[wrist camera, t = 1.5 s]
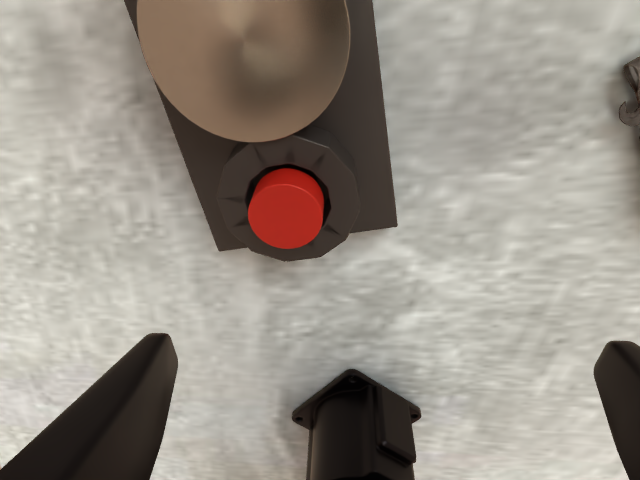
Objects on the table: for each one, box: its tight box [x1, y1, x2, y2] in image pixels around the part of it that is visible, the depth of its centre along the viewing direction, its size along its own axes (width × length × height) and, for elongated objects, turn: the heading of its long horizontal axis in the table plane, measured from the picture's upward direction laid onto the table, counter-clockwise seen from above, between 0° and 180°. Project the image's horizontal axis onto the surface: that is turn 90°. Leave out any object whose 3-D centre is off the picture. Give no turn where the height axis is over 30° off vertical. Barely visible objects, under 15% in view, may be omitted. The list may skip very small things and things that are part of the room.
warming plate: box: [137, 0, 350, 142], centre depth 15 cm, size 7×7×1 cm
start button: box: [248, 168, 324, 249], centre depth 18 cm, size 3×3×2 cm
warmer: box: [124, 0, 398, 261], centre depth 18 cm, size 13×9×3 cm
